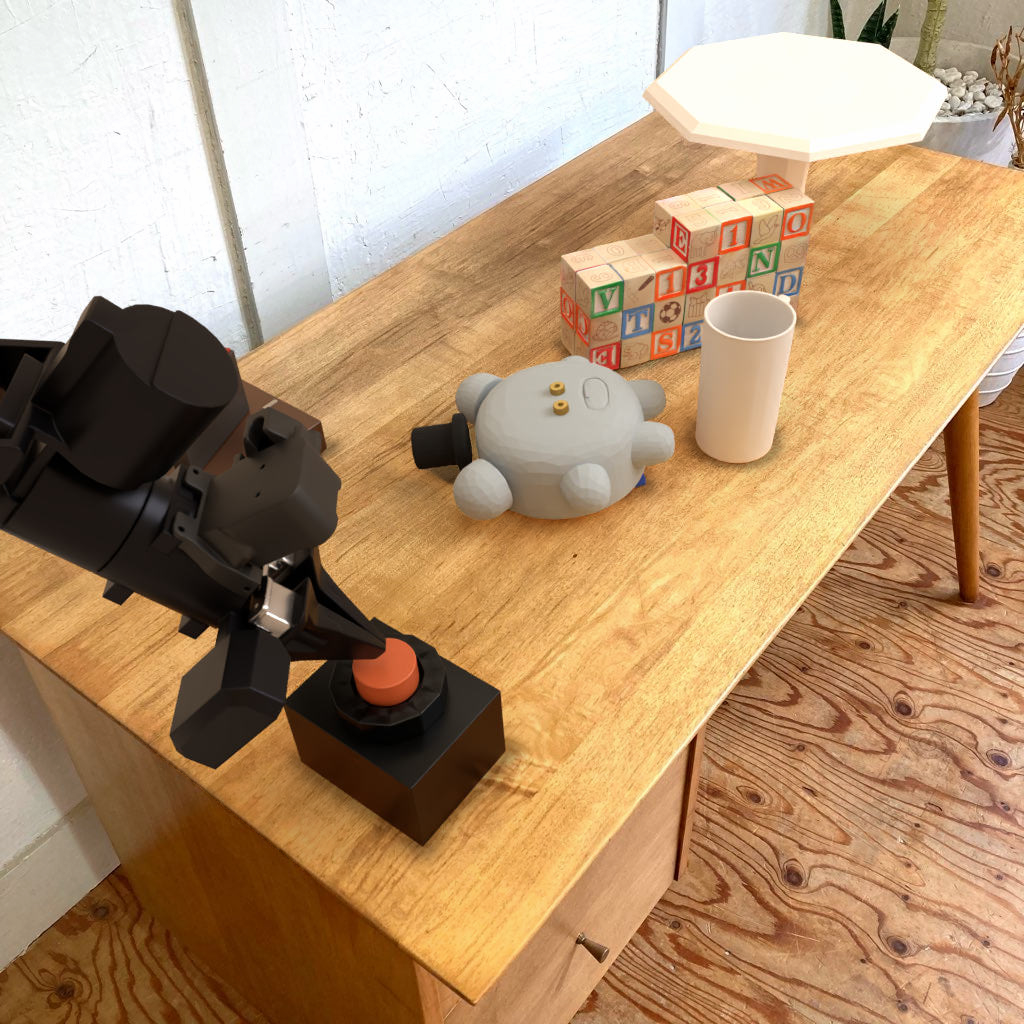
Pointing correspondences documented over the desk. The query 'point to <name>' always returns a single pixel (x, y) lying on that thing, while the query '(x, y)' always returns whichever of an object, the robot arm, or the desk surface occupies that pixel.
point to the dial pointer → (217, 428)
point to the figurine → (548, 440)
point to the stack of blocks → (683, 270)
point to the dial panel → (235, 440)
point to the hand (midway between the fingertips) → (381, 649)
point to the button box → (400, 738)
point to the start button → (388, 675)
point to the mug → (742, 373)
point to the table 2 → (796, 99)
